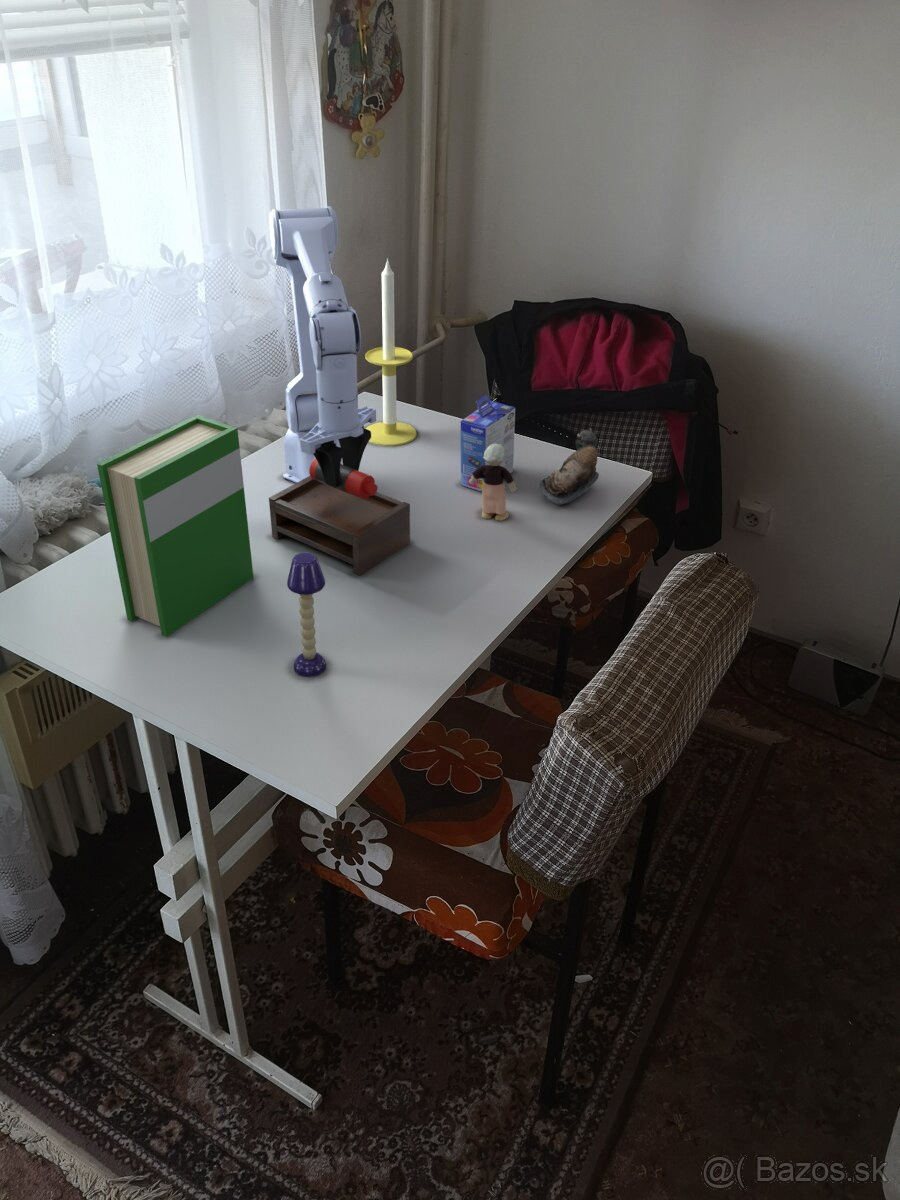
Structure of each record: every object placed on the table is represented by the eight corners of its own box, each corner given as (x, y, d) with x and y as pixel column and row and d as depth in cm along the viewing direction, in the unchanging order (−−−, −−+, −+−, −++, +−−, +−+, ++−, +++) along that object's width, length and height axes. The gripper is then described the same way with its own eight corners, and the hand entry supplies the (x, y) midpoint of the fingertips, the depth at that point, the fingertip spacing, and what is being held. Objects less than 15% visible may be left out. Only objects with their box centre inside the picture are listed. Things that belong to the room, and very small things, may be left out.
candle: (398, 450, 186) (396, 270, 168) (352, 437, 190) (345, 260, 172) (427, 430, 193) (428, 255, 175) (382, 418, 198) (379, 246, 179)
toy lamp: (294, 655, 136) (285, 548, 127) (330, 654, 137) (323, 547, 127) (293, 678, 132) (284, 569, 123) (329, 676, 133) (323, 568, 123)
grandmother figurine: (515, 511, 169) (519, 440, 162) (514, 522, 166) (518, 451, 159) (468, 508, 170) (471, 437, 162) (466, 519, 167) (469, 448, 159)
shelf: (272, 537, 161) (268, 497, 157) (324, 507, 169) (322, 469, 165) (359, 576, 152) (358, 535, 148) (410, 543, 160) (410, 503, 156)
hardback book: (166, 637, 139) (139, 479, 125) (127, 619, 142) (96, 463, 129) (253, 577, 151) (237, 427, 138) (215, 562, 155) (196, 414, 141)
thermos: (309, 483, 157) (308, 461, 155) (325, 474, 159) (324, 452, 157) (365, 505, 152) (364, 483, 150) (381, 496, 154) (381, 474, 152)
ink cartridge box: (487, 463, 183) (490, 386, 175) (514, 471, 181) (519, 394, 172) (457, 485, 176) (459, 406, 168) (485, 494, 174) (488, 414, 165)
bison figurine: (566, 514, 169) (571, 459, 163) (530, 500, 172) (534, 446, 166) (603, 487, 176) (610, 433, 171) (568, 475, 180) (574, 422, 174)
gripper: (324, 419, 141) (329, 506, 148) (391, 386, 150) (392, 470, 158) (286, 406, 144) (293, 491, 152) (354, 374, 154) (357, 457, 161)
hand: (341, 479), depth 155 cm, fingers closed on thermos, 4 cm apart
